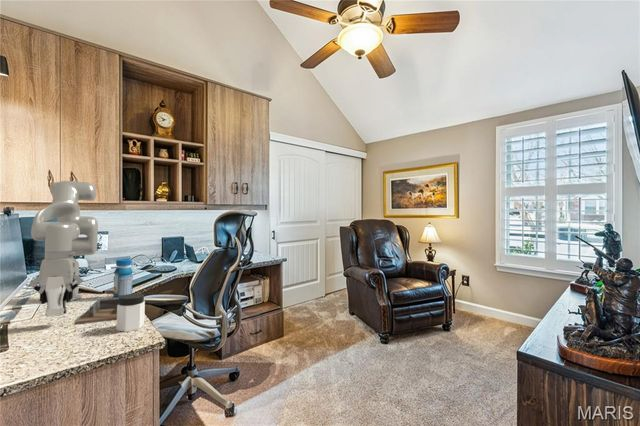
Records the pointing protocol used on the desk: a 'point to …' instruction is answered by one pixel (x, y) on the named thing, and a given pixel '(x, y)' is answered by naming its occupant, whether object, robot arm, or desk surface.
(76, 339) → the desk surface
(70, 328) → the desk surface
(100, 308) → the u rest
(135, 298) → the jar
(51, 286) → the beer glass
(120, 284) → the beverage bottle
